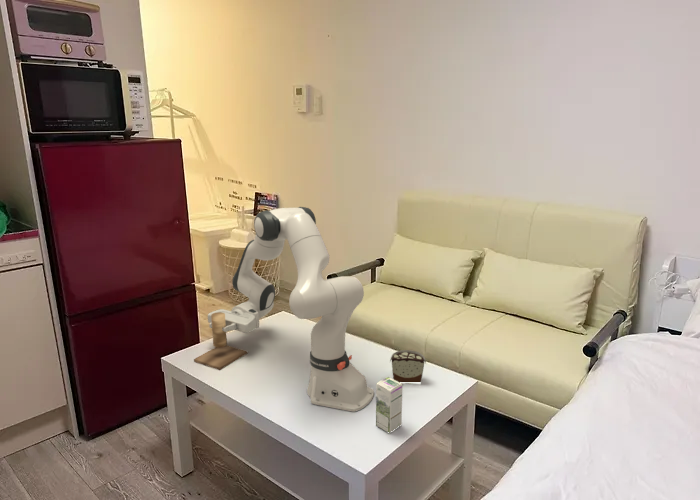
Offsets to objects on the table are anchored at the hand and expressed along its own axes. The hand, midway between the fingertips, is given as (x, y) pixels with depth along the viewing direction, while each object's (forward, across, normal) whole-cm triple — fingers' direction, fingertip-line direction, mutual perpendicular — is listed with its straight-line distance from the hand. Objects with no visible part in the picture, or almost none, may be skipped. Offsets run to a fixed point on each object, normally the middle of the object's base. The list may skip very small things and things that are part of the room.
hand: (217, 328), depth 189 cm
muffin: (-21, +68, +12) cm, 72 cm away
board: (-1, 0, +12) cm, 12 cm away
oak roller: (-1, 0, +7) cm, 7 cm away
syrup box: (+7, +74, +12) cm, 76 cm away
